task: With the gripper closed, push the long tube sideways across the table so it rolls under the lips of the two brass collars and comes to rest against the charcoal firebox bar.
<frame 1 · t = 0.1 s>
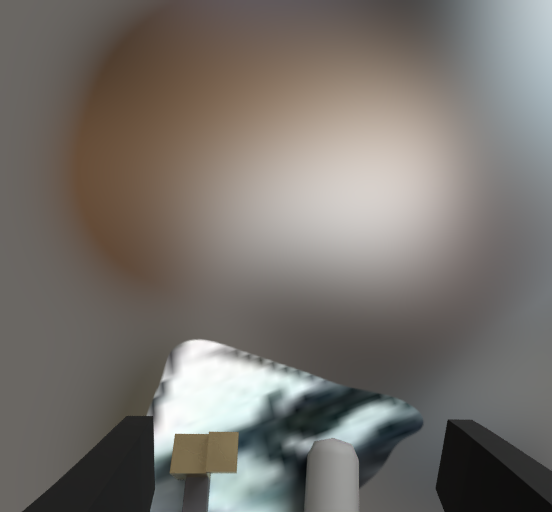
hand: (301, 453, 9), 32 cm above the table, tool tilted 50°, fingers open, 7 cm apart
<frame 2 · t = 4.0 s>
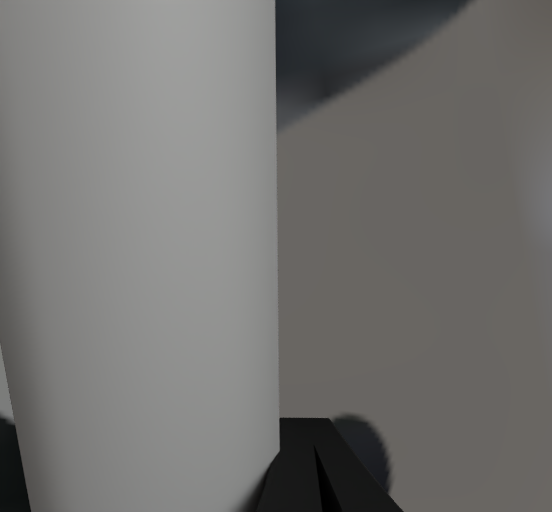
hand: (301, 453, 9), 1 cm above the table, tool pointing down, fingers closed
tube: (192, 409, 11), on the table, touching gripper
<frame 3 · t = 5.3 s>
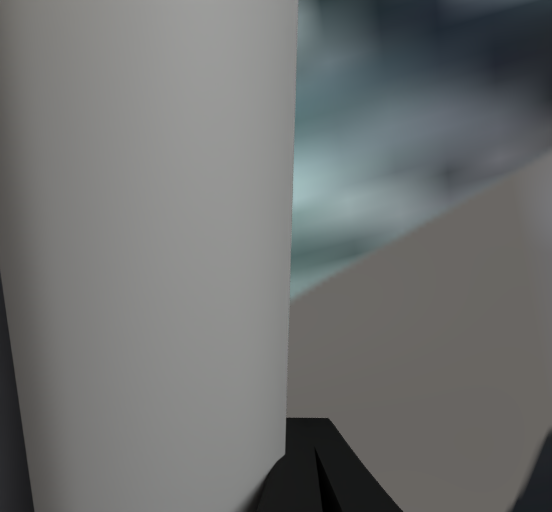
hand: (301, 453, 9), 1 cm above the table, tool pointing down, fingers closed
tube: (196, 417, 11), on the table
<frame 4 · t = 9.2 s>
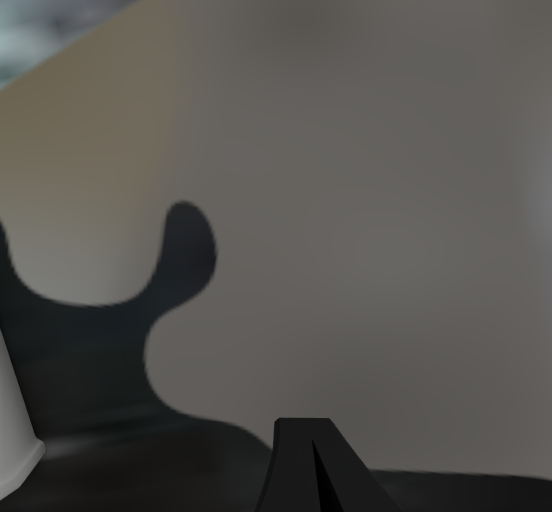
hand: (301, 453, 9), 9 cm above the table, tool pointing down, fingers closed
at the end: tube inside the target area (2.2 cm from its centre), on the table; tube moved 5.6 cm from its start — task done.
